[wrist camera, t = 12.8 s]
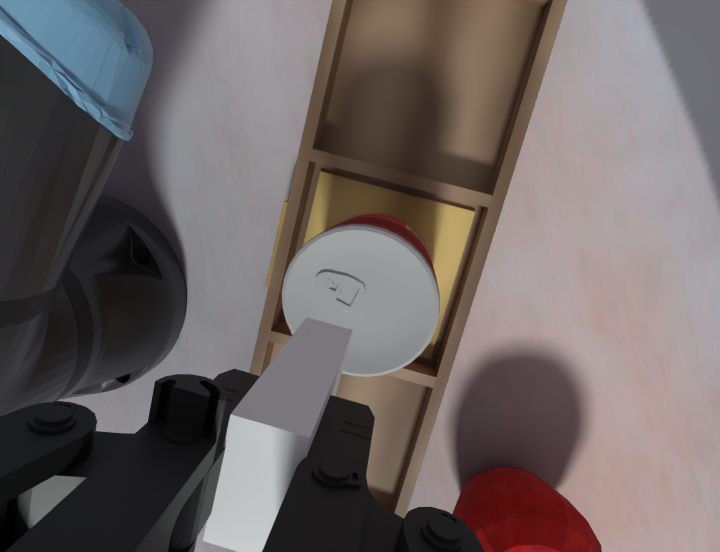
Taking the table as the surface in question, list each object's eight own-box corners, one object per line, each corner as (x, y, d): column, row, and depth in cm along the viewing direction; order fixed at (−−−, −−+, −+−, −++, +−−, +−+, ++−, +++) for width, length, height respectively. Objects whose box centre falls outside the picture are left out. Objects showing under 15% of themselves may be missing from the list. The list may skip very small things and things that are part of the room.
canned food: (333, 201, 34) (295, 208, 23) (445, 227, 33) (459, 247, 23) (311, 304, 36) (266, 356, 25) (418, 331, 35) (420, 395, 24)
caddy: (233, 469, 40) (219, 491, 37) (349, -47, 32) (343, -70, 29) (397, 518, 39) (395, 545, 36) (557, 2, 31) (572, -17, 28)
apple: (473, 567, 39) (495, 709, 29) (416, 470, 38) (417, 579, 28) (589, 522, 37) (659, 655, 27) (533, 418, 36) (582, 513, 26)
